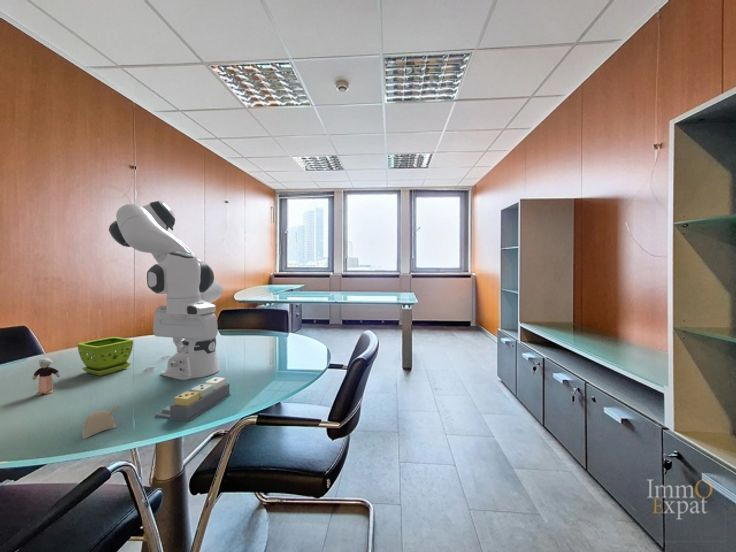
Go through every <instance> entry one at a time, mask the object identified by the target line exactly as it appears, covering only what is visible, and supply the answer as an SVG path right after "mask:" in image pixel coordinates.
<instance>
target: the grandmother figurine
mask: <svg viewBox="0 0 736 552" xmlns="http://www.w3.org/2000/svg"><path fill="white" fill-rule="evenodd" d="M38 363H39V367H40V368H38V369H37V370H36V371H35V372H34V373H33V376H32V378H31V380H33V381H34V380H36V379H37V378H38V391H37V392H36V393H35V395H34V396H40V395H43V393H44V395H51V394H53V393H54V392H53V391H54V390H53V389H54V381H53V380H54V379H53V375H55V376H56V378H60V377H61V374H60V372H59V370H58V369H57V368H54V367H52V366H50V365H51V364H53V360H52V358H51V359H50V357H46V356H45V357H41V358H39V360H38ZM38 376H39V377H38ZM52 392H53V393H52ZM50 393H51V394H50Z"/></svg>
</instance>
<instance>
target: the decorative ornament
mask: <svg viewBox="0 0 736 552" xmlns="http://www.w3.org/2000/svg"><path fill="white" fill-rule="evenodd" d="M119 407H120V404H117V405H115V406H114V407H112V409H110V410H103V409H102V410H98V411H95V412H93V413H91V414H90V415H88V416H87V417H86V418H85V421H84V423H83V432H82V433H81V436H82V438H83V439H84V440H85V439H88V438H89V437H91V436H94V435H96V434H98V433H101V432H103V431H106V430H111V429H116V428H117V426H116V423H114V418H113V417H114V416H113V415H112V413H113V412H114V411H116V410H117V409H118V408H119Z"/></svg>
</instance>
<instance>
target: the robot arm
mask: <svg viewBox="0 0 736 552" xmlns="http://www.w3.org/2000/svg"><path fill="white" fill-rule="evenodd" d="M175 225H176V218H175V214H174V211H173V210H172V208H171V207H170V206H169V205H167V204H166V203H164V202H163V201H161V200H157V201H156V200H155V201H151V202H149V203H148V204H146V205H143V206H141V205H140V204H135V203H129V204H125V205H122V206H121V207H119V208H118V210H117V211H116V219H115V220H114V221H113V222H112V223H111V224H109V227H108V232H109V234H110V236H111V238H112V239H113V240H114V241H115V242H116V243H118V244H119V245H121V246H122V247H126V248H132V249H134V250H136V251H138V252H141V253H146V254H150V255H152V257H153V258H154V260H155V261H156V263H154V264H153V265H152V266H151V267H149V269H148V270H147V272H146V285H147V287H148V288H149V290H151V291H152V292H153V293H155V294H160V295H166V296H165V304H166V305H159V306H158V307H157V308H156V309H155V311H154V312H155V314H154V316H153V325H152V326H153V327H152V331H153V335H154V336H155V337H158V338H160V337H161V338H170V339H171V338H172V342H173V344H174V345H175V347H176V352H175V353H174V354H173V355H171V356H170V357H169V358H168V361H167V366H166V368H165V369H163V370H162V371H160V375H161V376H164V377H169V378H172V379H176V380H180V381H185V380H186V381H187V380H190V379H197V378H203V377H207V376H211V375H214V374H216V373H218V372H219V371H220V370H221V367H220V365H219V361H218V357H217V351H216V350H217V349H216V347H217V336H218V331H219V330H218V329H219V328H218V319H217V316H216V315H217V314H215V312H216V310H217V306H216V305H215V304H213V302H216V301H217V300H218V299H219V298H221V296H222V295H223V285H222V284H221V282H220V281H218V280H216V279H215V274H214V271H213V269H212V268H211V266H210V265H209V264H207V263H206V262H205V261H202V260H201V259H200V258H199V257H198V256H197V255H196V254H195V253H194V252H193V251H192V250H191V249H190V248H189V247H188V246H187V245H186V244H185V243H184V242H183V241H182V240H181V239H180V238H178V237H177V236H175V235H173V234H172V233H171V232H169V229H170V230H171V231H172V232H173V231H174V226H175Z"/></svg>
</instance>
